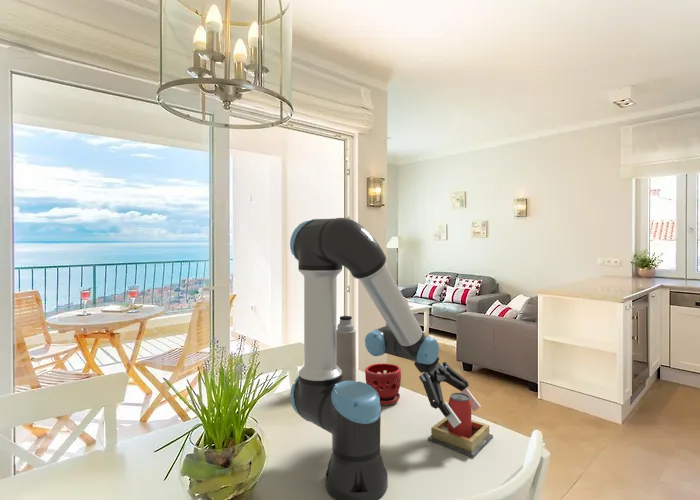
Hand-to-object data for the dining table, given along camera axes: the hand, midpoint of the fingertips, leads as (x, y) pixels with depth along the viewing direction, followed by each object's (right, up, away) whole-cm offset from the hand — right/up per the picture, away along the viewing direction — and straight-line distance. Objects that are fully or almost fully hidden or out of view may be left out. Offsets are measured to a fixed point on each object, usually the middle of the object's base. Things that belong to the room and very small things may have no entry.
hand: (468, 416), depth 114 cm
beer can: (-2, -7, +2) cm, 7 cm away
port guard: (-2, -7, +2) cm, 8 cm away
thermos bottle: (-36, -6, +45) cm, 58 cm away
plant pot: (-22, -7, +30) cm, 38 cm away
